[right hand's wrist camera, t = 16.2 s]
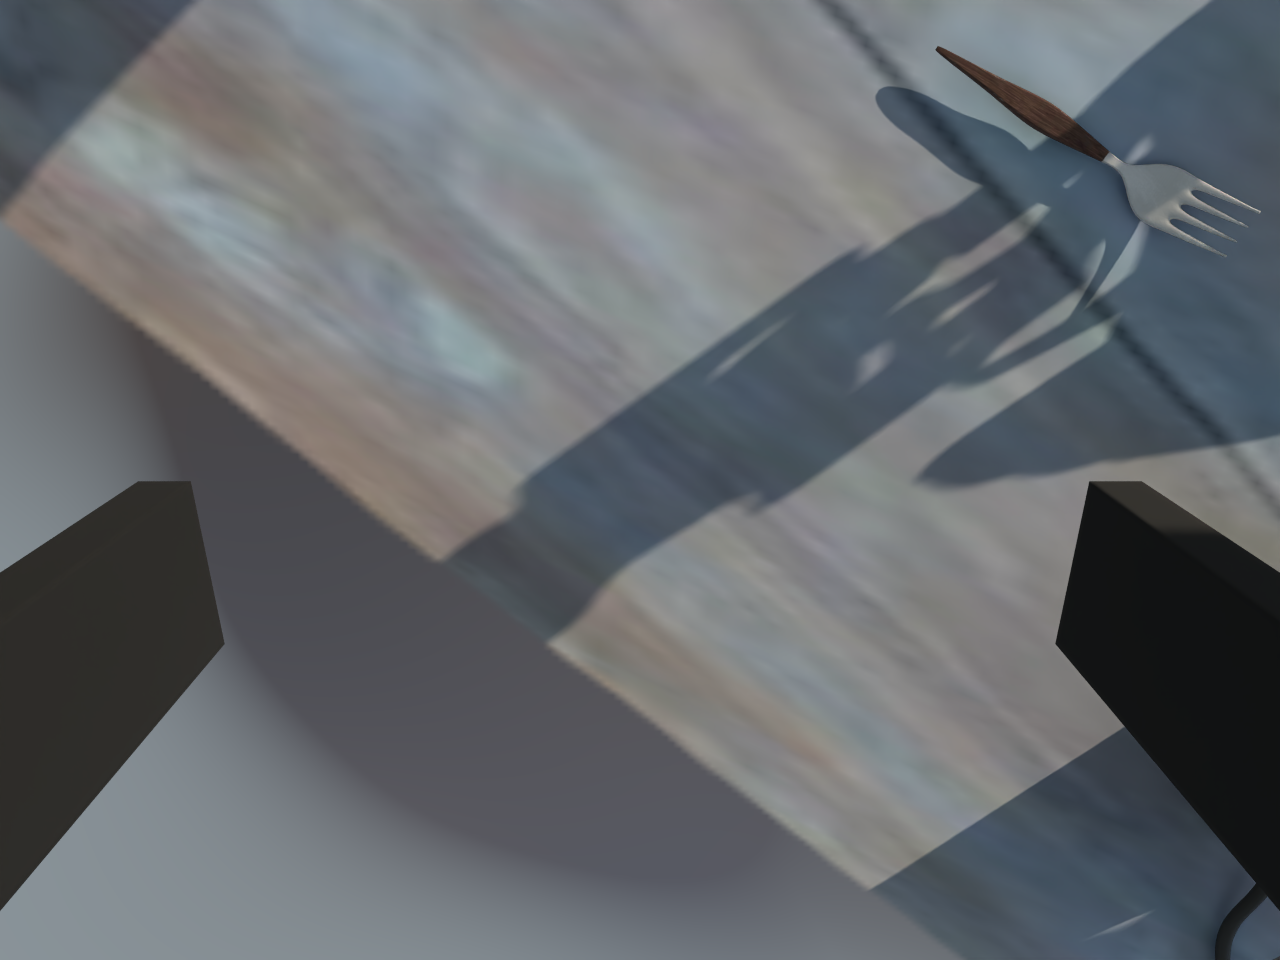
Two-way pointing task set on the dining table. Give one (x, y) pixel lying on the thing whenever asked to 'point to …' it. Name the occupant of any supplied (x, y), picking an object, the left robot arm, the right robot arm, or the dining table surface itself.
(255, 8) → the dining table surface
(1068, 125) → the fork
